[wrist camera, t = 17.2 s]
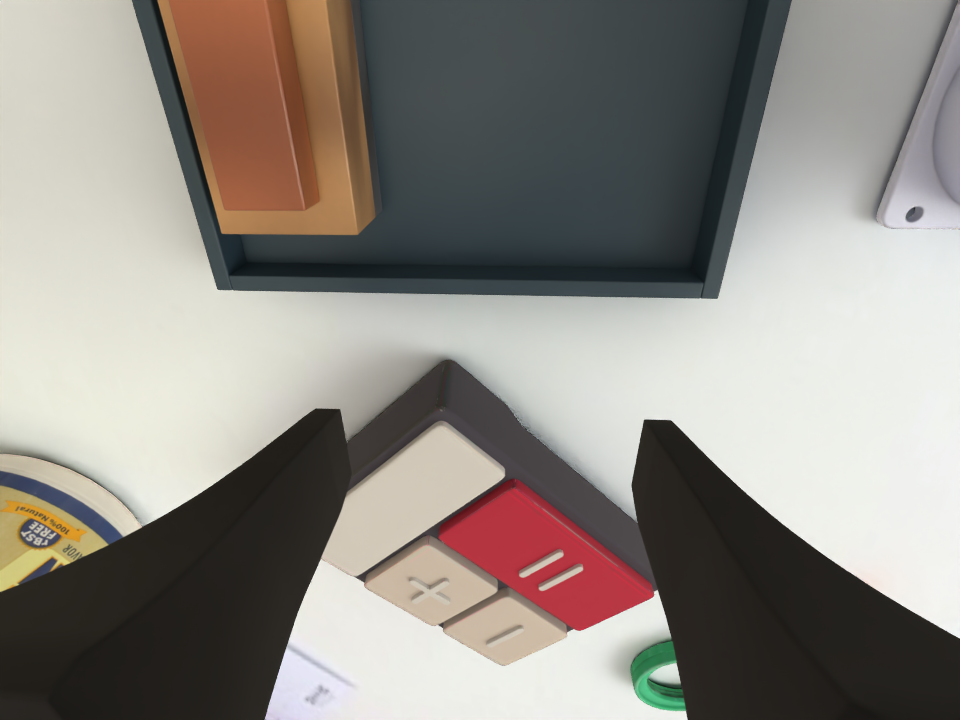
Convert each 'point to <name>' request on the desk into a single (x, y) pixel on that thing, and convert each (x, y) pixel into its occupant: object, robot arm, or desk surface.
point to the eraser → (279, 112)
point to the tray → (528, 149)
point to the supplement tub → (52, 518)
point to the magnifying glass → (651, 691)
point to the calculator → (482, 524)
